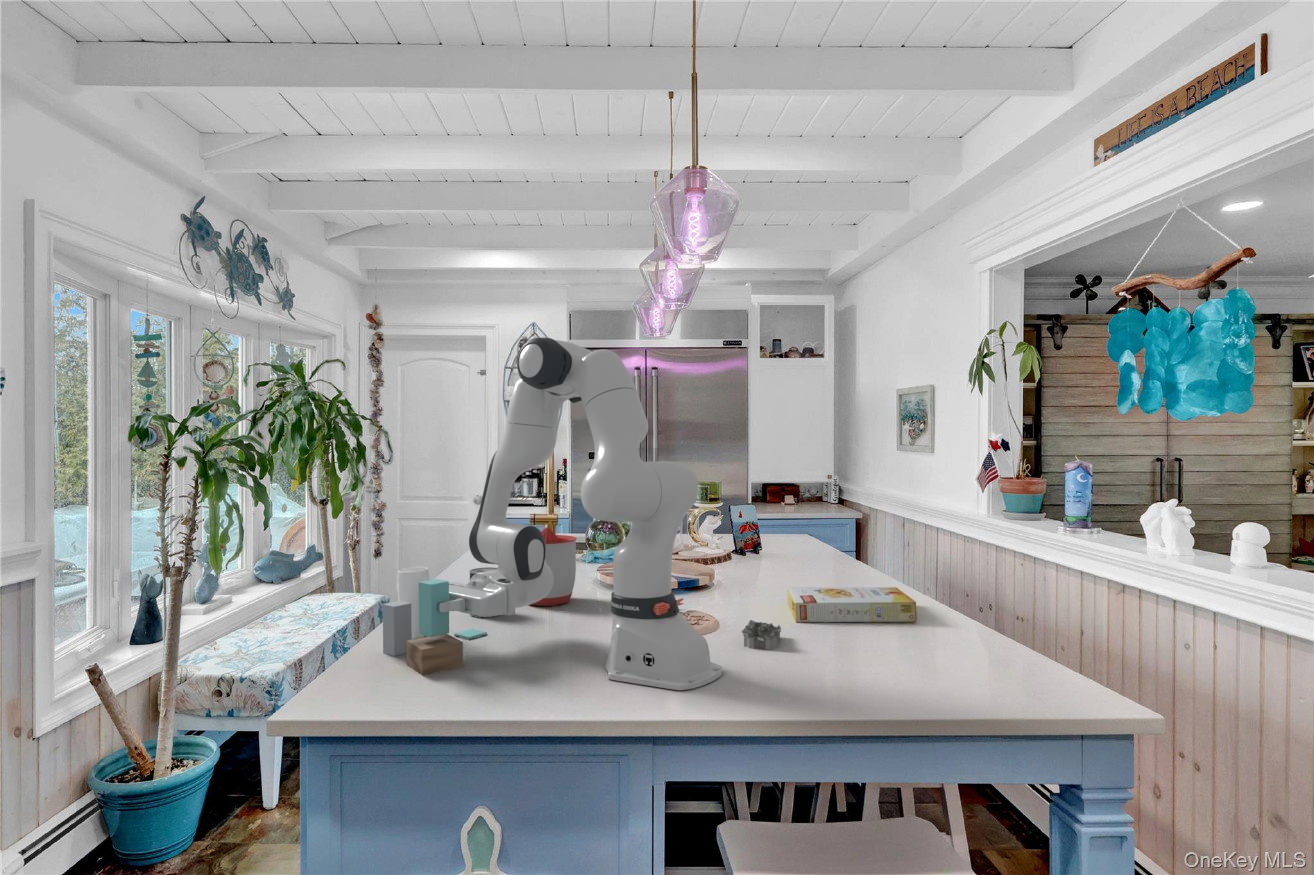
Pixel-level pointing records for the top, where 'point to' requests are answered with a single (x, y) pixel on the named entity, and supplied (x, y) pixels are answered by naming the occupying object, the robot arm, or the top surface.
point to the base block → (434, 654)
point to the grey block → (396, 627)
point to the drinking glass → (411, 592)
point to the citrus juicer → (559, 567)
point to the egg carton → (761, 635)
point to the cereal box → (850, 604)
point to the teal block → (433, 608)
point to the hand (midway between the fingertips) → (430, 605)
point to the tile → (470, 633)
